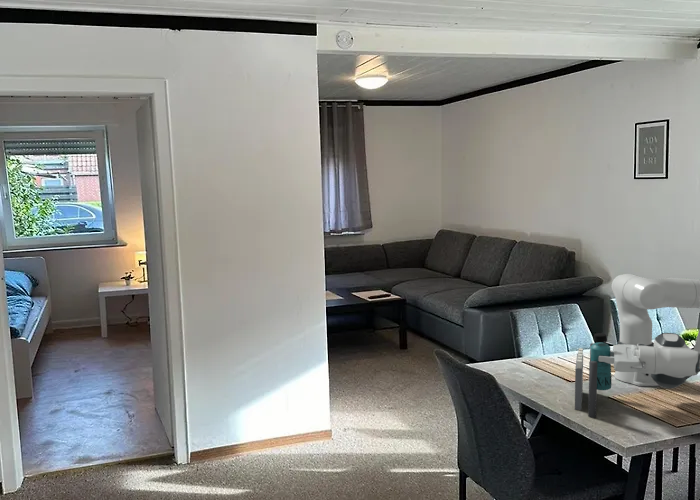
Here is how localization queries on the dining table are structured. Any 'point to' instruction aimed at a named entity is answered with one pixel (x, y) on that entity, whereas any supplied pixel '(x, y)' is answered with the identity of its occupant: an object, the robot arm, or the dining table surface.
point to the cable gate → (592, 387)
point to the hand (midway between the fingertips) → (598, 356)
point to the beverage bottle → (602, 367)
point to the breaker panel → (579, 380)
